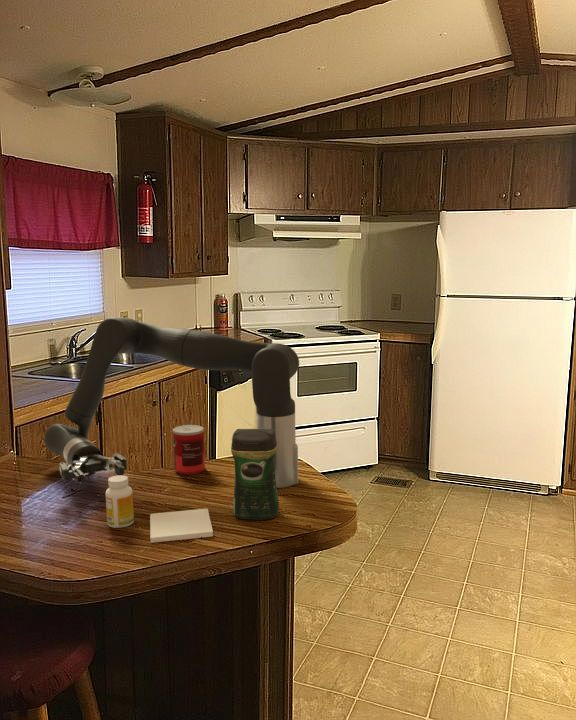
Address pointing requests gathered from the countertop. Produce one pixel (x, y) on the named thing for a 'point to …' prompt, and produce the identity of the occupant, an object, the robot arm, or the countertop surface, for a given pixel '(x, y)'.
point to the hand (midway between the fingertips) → (102, 475)
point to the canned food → (189, 449)
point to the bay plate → (180, 525)
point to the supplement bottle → (119, 502)
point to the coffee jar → (255, 474)
